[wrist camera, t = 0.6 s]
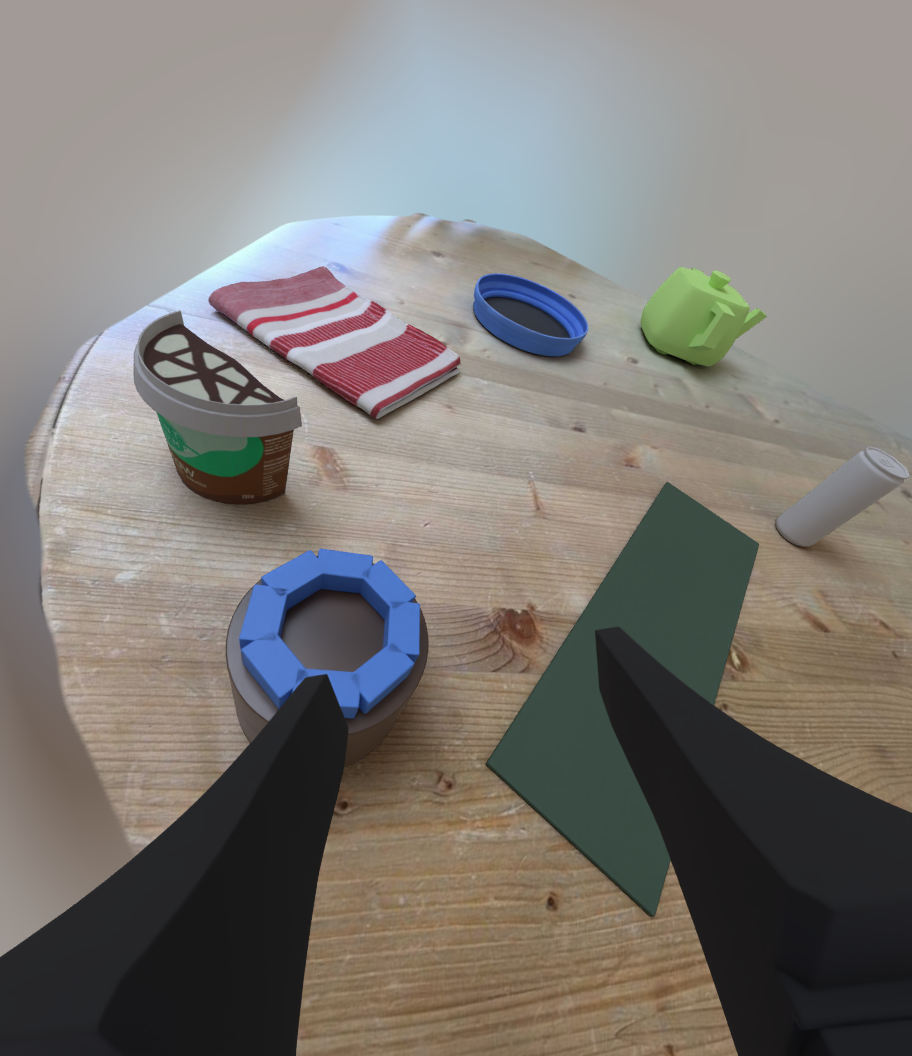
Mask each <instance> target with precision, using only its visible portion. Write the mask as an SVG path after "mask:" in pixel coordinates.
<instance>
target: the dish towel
mask: <svg viewBox="0 0 912 1056" xmlns="http://www.w3.org/2000/svg"><path fill="white" fill-rule="evenodd" d="M209 303H210V305H211V306H212V307H214V308H215V309H216V310H217V311H219V312H221V313H223V314H224V315H226V316H227V317H228V318H230V319H231V320H233V321H234V322H235V323H237V324H238V325H239V326H241V327H242V328H243V329H245V330H246V331H248V332H249V333H250V334H251V335H252V336H254V337H255V338H257V339H258V340H260V341H261V342H263V343H264V344H265V345H267V346H268V347H270V348H271V349H273V350H274V351H276V352H277V353H279V354H280V355H281V356H283V357H284V358H286V359H287V360H289V361H291V362H292V363H294V364H296V365H298V366H300V367H301V368H303V369H304V370H305V371H307V372H308V373H310V374H311V375H312V376H313V377H314V378H316V379H317V380H318V381H320V382H321V383H322V384H324V385H325V386H326V387H328V388H329V389H331V390H332V391H334V392H336V393H337V394H339V395H340V396H342V397H343V398H344V399H346V400H347V401H349V402H350V403H352V404H354V405H355V406H358V407H360V408H361V409H363V410H364V411H366V412H367V413H368V414H370V415H371V416H372V417H374V418H375V419H378V418H380V417H382V416H384V415H385V414H387V413H389V412H391V411H393V410H395V409H396V408H398V407H400V406H402V405H404V404H406V403H407V402H409V401H411V400H413V399H414V398H416V397H418V396H420V395H422V394H424V393H425V392H427V391H429V390H430V389H432V388H434V387H435V386H437V385H439V384H440V383H442V382H444V381H446V380H447V379H448V378H450V377H452V376H454V375H456V374H458V373H459V370H458V368H457V366H459V365H460V364H461V363H460V357H459V356H458V355H457V354H456V353H455V352H453V351H452V350H450V349H449V348H447V347H446V346H445V345H443V344H442V343H441V342H440V341H438V340H437V339H435V338H434V337H432V336H430V335H428V334H426V333H425V332H423V331H421V330H419V329H417V328H415V327H413V326H411V325H408V324H405V323H404V322H402V321H401V320H399V319H398V318H397V317H395V316H394V315H393V314H391V313H390V312H388V311H387V310H386V309H384V308H383V307H381V306H380V305H378V304H376V303H375V302H373V301H371V300H368V299H366V298H363V297H361V296H359V295H357V294H356V293H355V292H353V291H351V290H350V289H348V288H347V287H346V286H344V285H343V284H342V283H340V282H339V281H338V280H337V279H336V278H335V277H334V276H333V274H332V273H331V272H330V271H329V270H328V269H327V268H326V267H319V268H317V269H314V270H311V271H308V272H306V273H302V274H299V275H297V276H294V277H291V278H288V279H277V280H272V281H262V282H240V283H235V284H231V285H228V286H225V287H222V288H220V289H217V290H216V291H214V292H213V293H212V294H211V295H210V297H209Z"/></svg>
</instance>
